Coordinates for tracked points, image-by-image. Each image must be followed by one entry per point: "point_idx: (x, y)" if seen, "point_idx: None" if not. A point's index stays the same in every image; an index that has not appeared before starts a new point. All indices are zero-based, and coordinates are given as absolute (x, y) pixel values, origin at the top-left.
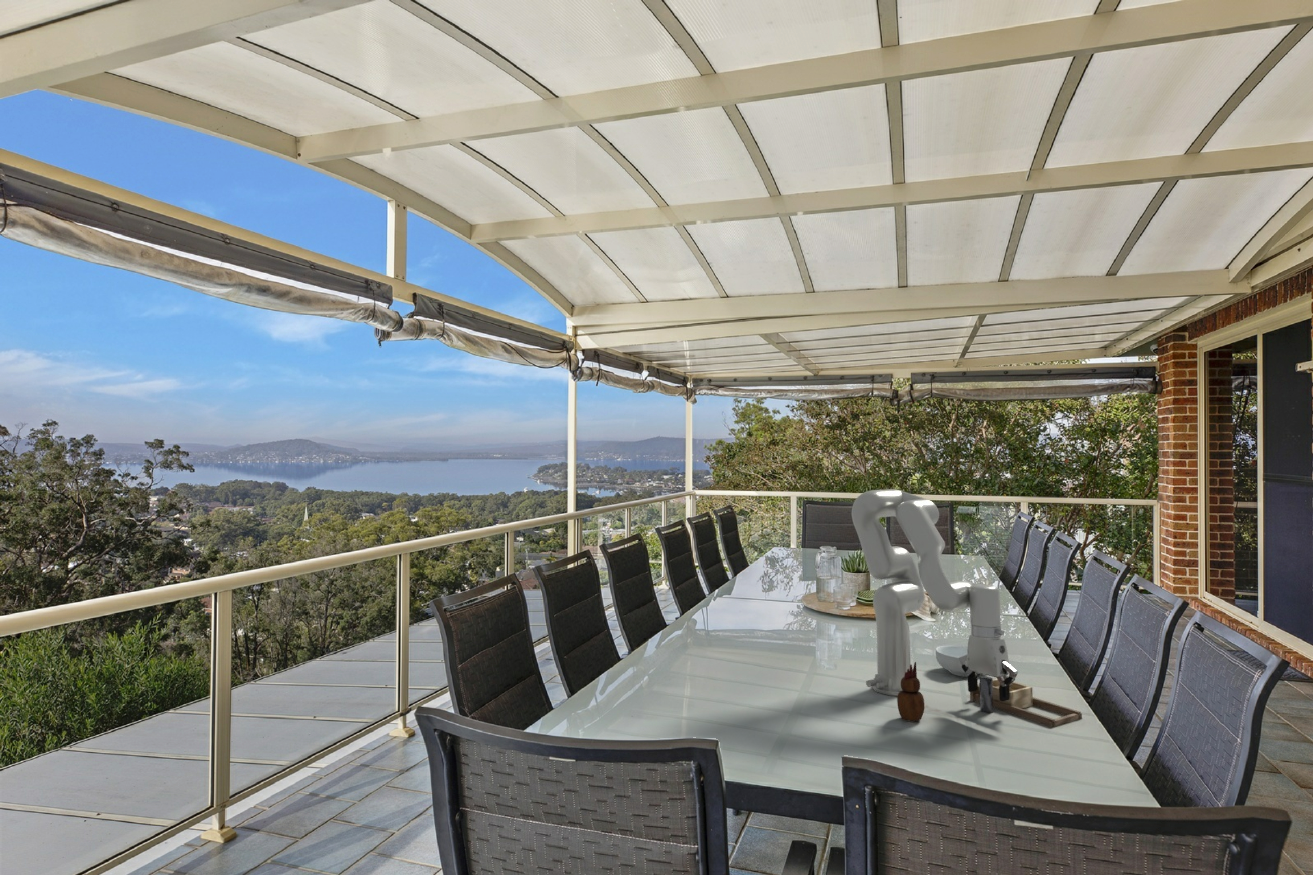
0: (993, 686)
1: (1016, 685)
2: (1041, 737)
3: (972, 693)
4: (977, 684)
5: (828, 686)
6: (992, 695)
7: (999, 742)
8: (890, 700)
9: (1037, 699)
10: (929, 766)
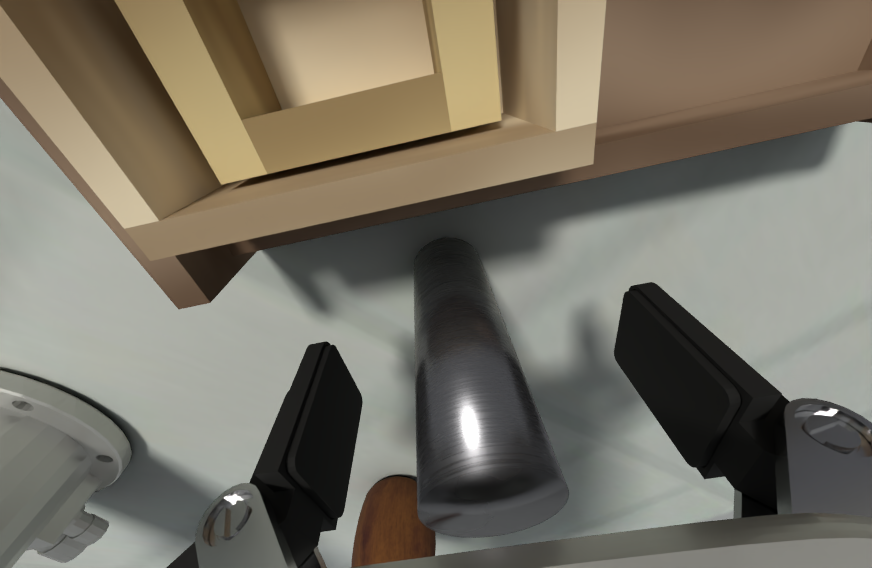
0: (321, 203)
1: None
2: (794, 226)
3: (230, 274)
4: (319, 381)
5: None
6: (510, 339)
7: None
8: (190, 474)
9: None
10: (634, 529)
